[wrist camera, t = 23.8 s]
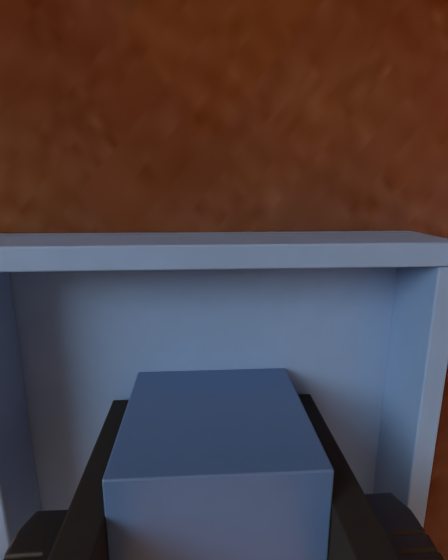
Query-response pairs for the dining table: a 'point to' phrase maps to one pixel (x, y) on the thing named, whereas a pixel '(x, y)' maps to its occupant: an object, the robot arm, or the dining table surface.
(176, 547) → the blue block
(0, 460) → the blue tray
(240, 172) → the dining table surface
